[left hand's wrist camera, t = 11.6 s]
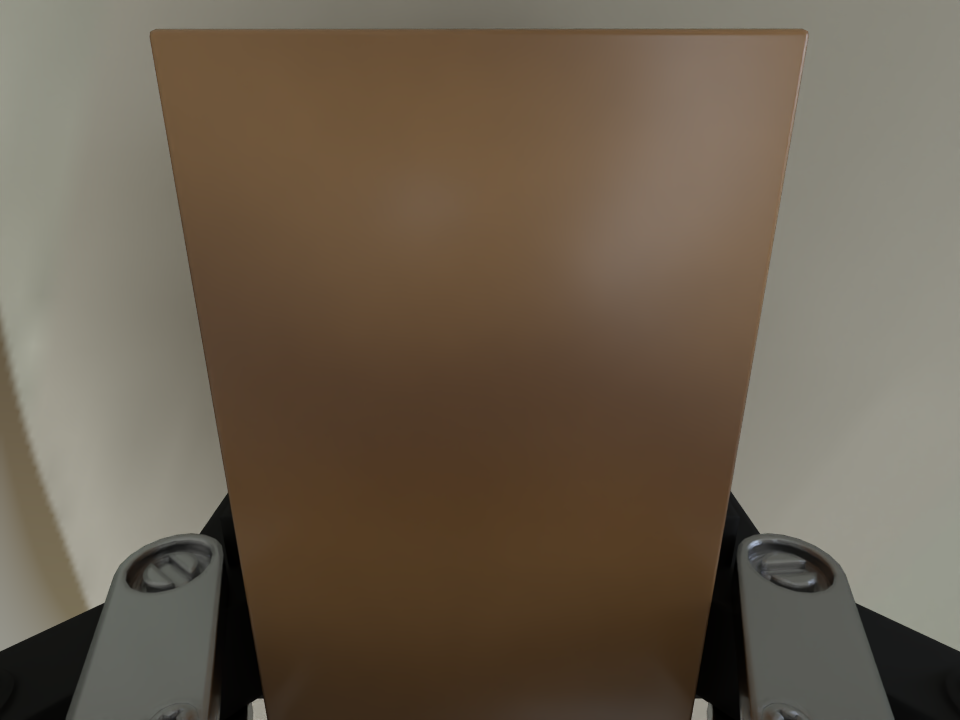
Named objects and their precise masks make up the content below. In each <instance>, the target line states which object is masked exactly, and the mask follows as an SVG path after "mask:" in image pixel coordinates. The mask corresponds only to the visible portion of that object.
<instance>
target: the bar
mask: <svg viewBox="0 0 960 720" xmlns="http://www.w3.org/2000/svg"><path fill="white" fill-rule="evenodd" d="M808 37H809V35H808V31H806V30H804V29H155V30H153V31H151V32H150V41H151V47H152V53H153V58H154V64H155V70H156V76H157V82H158V87H159V93H160V99H161V105H162V111H163V116H164V122H165V128H166V134H167V140H168V145H169V151H170V157H171V163H172V169H173V174H174V180H175V186H176V192H177V198H178V203H179V209H180V215H181V221H182V227H183V232H184V238H185V244H186V250H187V256H188V261H189V267H190V273H191V279H192V285H193V291H194V296H195V302H196V308H197V314H198V320H199V325H200V331H201V337H202V343H203V349H204V354H205V360H206V366H207V372H208V378H209V383H210V389H211V395H212V401H213V407H214V412H215V418H216V424H217V430H218V436H219V441H220V447H221V453H222V459H223V465H224V470H225V476H226V482H227V488H228V494H229V500H230V505H231V511H232V517H233V523H234V529H235V534H236V540H237V546H238V552H239V558H240V563H241V569H242V575H243V581H244V587H245V592H246V598H247V604H248V610H249V616H250V621H251V627H252V633H253V639H254V645H255V650H256V656H257V662H258V668H259V674H260V679H261V685H262V691H263V697H264V703H265V708H266V714H267V720H691V717H692V711H693V706H694V700H695V694H696V688H697V682H698V677H699V671H700V665H701V659H702V653H703V647H704V642H705V636H706V630H707V624H708V618H709V613H710V607H711V601H712V595H713V589H714V583H715V578H716V572H717V566H718V560H719V554H720V549H721V543H722V537H723V531H724V525H725V519H726V514H727V508H728V502H729V496H730V490H731V485H732V479H733V473H734V467H735V461H736V455H737V450H738V444H739V438H740V432H741V426H742V421H743V415H744V409H745V403H746V397H747V391H748V386H749V380H750V374H751V368H752V362H753V357H754V351H755V345H756V339H757V333H758V327H759V322H760V316H761V310H762V304H763V298H764V293H765V287H766V281H767V275H768V269H769V263H770V258H771V252H772V246H773V240H774V234H775V229H776V223H777V217H778V211H779V205H780V199H781V194H782V188H783V182H784V176H785V170H786V165H787V159H788V153H789V147H790V141H791V135H792V130H793V124H794V118H795V112H796V106H797V101H798V95H799V89H800V83H801V77H802V71H803V66H804V60H805V54H806V48H807V42H808Z"/></svg>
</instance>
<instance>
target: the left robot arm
mask: <svg viewBox="0 0 960 720" xmlns="http://www.w3.org/2000/svg"><path fill="white" fill-rule="evenodd" d="M695 698H702V699H704V700H705V701H707V702H708V708H707V720H960V652H959V651H957V650H955V649H953V648H951V647H949V646H947V645H944V644H942V643H940V642H938V641H936V640H934V639H932V638H929V637H927V636H925V635H923V634H921V633H919V632H917V631H914V630H912V629H910V628H908V627H906V626H904V625H902V624H899V623H897V622H895V621H893V620H891V619H889V618H887V617H884V616H882V615H880V614H878V613H876V612H874V611H872V610H869V609H867V608H865V607H863V606H861V605H859V604H857V603H855V601H854V598H853V595H852V592H851V589H850V586H849V583H848V580H847V577H846V575H845V573H844V571H843V569H842V568H841V566H840V565H839V564H838V563H837V562H836V561H835V560H834V559H833V558H832V557H831V556H830V555H829V554H827V553H826V552H824V551H823V550H821V549H819V548H818V547H816V546H814V545H812V544H810V543H807V542H805V541H803V540H801V539H797V538H793V537H790V536H786V535H780V534H770V533H767V534H760V533H759V532H758V530H757V529H756V527H755V526H754V524H753V523H752V521H751V520H750V519H749V517H748V516H747V514H746V513H745V511H744V510H743V508H742V507H741V506H740V504H739V503H738V501H737V500H736V498H735V497H734V495H733V494H732V492H731V491H730V496H729V502H728V508H727V514H726V519H725V525H724V531H723V537H722V543H721V549H720V554H719V560H718V566H717V572H716V578H715V583H714V589H713V595H712V601H711V607H710V613H709V618H708V624H707V630H706V636H705V642H704V647H703V653H702V659H701V665H700V671H699V677H698V682H697V688H696V694H695ZM256 699H264V697H263V691H262V685H261V679H260V674H259V668H258V662H257V656H256V650H255V645H254V639H253V633H252V627H251V621H250V616H249V610H248V604H247V598H246V592H245V587H244V581H243V575H242V569H241V563H240V558H239V552H238V546H237V540H236V534H235V529H234V523H233V517H232V511H231V505H230V500H229V494H228V493H227V495H226V496H225V498H224V499H223V501H222V502H221V504H220V505H219V507H218V508H217V509H216V511H215V512H214V514H213V515H212V517H211V518H210V520H209V521H208V522H207V524H206V525H205V527H204V528H203V530H202V531H201V533H200V534H193V533H190V534H180V535H174V536H170V537H166V538H163V539H159V540H157V541H155V542H153V543H150V544H148V545H146V546H144V547H142V548H141V549H139V550H137V551H136V552H134V553H133V554H131V555H130V556H129V557H128V558H127V559H126V560H125V561H124V562H123V563H122V564H121V565H120V566H119V568H118V569H117V571H116V573H115V575H114V577H113V580H112V583H111V586H110V589H109V592H108V595H107V598H106V601H105V603H103V604H101V605H99V606H97V607H95V608H92V609H90V610H88V611H86V612H84V613H82V614H80V615H78V616H75V617H73V618H71V619H69V620H67V621H65V622H62V623H60V624H58V625H56V626H54V627H52V628H50V629H47V630H45V631H43V632H41V633H39V634H37V635H35V636H32V637H30V638H28V639H26V640H24V641H22V642H20V643H18V644H15V645H13V646H11V647H9V648H7V649H5V650H3V651H0V720H253V708H252V703H251V702H253V701H254V700H256Z"/></svg>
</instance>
